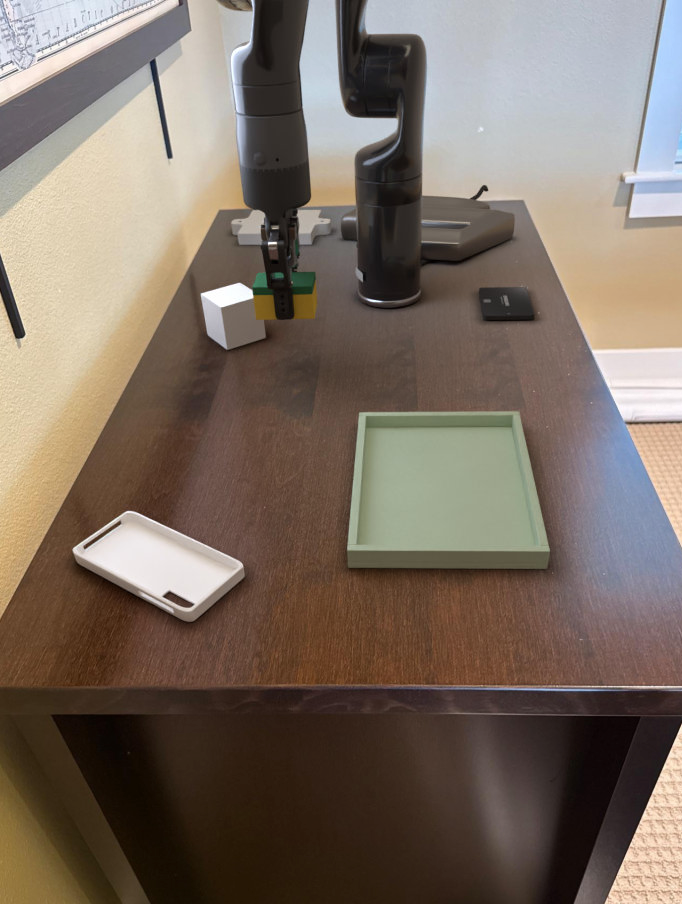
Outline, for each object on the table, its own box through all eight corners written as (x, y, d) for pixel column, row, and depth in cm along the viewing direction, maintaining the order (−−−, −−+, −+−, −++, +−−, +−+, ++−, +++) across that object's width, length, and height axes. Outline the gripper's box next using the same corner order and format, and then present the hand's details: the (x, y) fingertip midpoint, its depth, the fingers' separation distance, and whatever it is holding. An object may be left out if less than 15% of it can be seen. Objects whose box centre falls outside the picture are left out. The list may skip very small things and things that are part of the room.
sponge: (261, 304, 96) (257, 272, 93) (317, 303, 95) (315, 271, 93) (255, 320, 92) (251, 287, 90) (314, 318, 92) (311, 286, 89)
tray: (359, 428, 87) (359, 412, 86) (517, 427, 86) (519, 410, 85) (348, 568, 69) (346, 550, 68) (547, 569, 68) (550, 551, 67)
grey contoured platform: (472, 176, 144) (539, 220, 123) (470, 206, 148) (535, 254, 127) (327, 194, 139) (371, 243, 118) (328, 224, 143) (371, 277, 122)
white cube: (227, 350, 104) (220, 307, 100) (207, 335, 108) (200, 293, 104) (266, 337, 107) (261, 295, 103) (245, 323, 110) (239, 282, 107)
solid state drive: (483, 320, 108) (484, 315, 107) (478, 291, 115) (479, 287, 115) (534, 319, 107) (535, 314, 107) (526, 291, 115) (526, 286, 115)
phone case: (248, 574, 69) (132, 519, 76) (246, 563, 68) (129, 508, 75) (190, 625, 64) (72, 561, 71) (187, 613, 64) (68, 550, 70)
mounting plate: (335, 220, 144) (334, 209, 143) (325, 244, 134) (325, 233, 133) (241, 220, 146) (239, 210, 145) (224, 244, 136) (223, 233, 135)
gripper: (301, 173, 77) (313, 334, 88) (314, 140, 88) (323, 286, 99) (227, 176, 78) (248, 335, 88) (248, 142, 89) (265, 287, 99)
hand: (287, 308), depth 94 cm, fingers closed on sponge, 4 cm apart
